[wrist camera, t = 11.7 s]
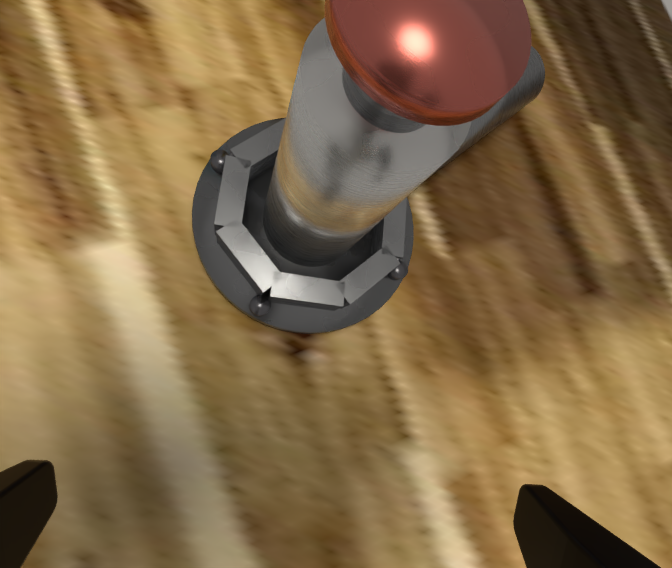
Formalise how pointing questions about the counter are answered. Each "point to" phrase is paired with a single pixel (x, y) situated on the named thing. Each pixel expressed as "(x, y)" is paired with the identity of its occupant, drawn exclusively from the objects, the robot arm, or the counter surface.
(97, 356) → the counter surface
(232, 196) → the dark grey handled piece
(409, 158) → the jar with red lid
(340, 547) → the counter surface
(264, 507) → the counter surface
